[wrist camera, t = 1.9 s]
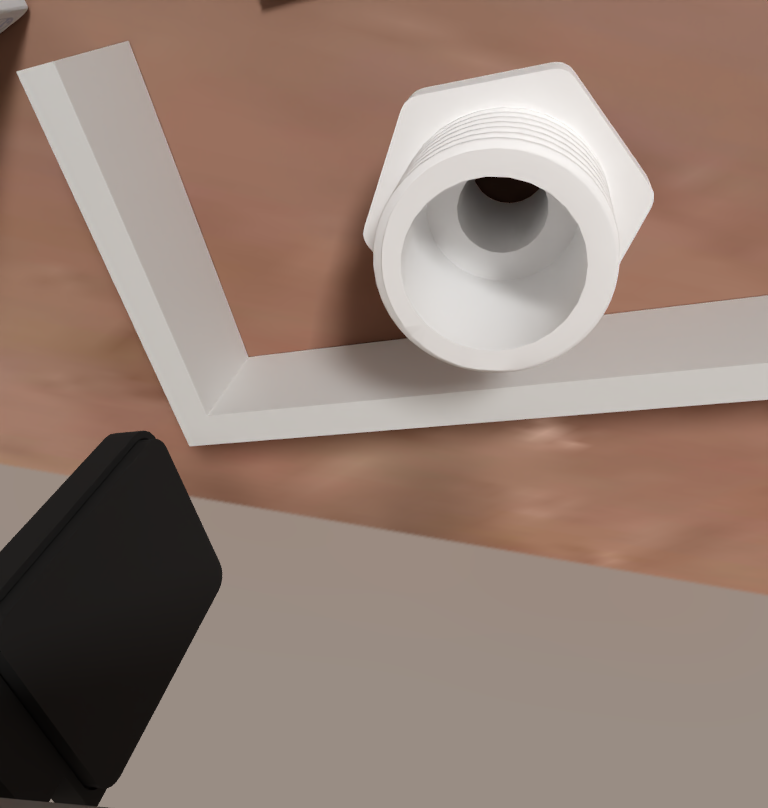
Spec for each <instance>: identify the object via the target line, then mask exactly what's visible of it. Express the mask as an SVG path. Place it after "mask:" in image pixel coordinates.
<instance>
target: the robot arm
mask: <svg viewBox="0 0 768 808" xmlns="http://www.w3.org/2000/svg"><path fill="white" fill-rule="evenodd" d="M221 581H222V568H221V565H220V562H219V560H218V558H217V556H216V554H215V552H214V549H213V547H212V545H211V543H210V541H209V539H208V536H207V534H206V532H205V530H204V528H203V526H202V523H201V521H200V519H199V517H198V515H197V513H196V511H195V508H194V506H193V504H192V502H191V500H190V497H189V495H188V493H187V491H186V489H185V487H184V485H183V482H182V480H181V478H180V476H179V474H178V472H177V469H176V467H175V465H174V463H173V461H172V459H171V456H170V454H169V452H168V450H167V448H166V446H165V445H164V443H163V442H162V441H161V440H158V439H156V438H155V437H154V436H153V435H152V434H151V433H150V432H147V431H136V432H125V433H115V434H110V435H109V436H107V437H106V438H105V439H104V440H103V441H102V442H101V443H100V444H99V445H98V446H97V448H96V449H95V450H94V451H93V452H92V453H91V454H90V455H89V456H88V457H87V458H86V459H85V461H84V462H83V463H82V464H81V465H80V466H79V467H78V468H77V469H76V470H75V471H74V472H73V474H72V475H71V476H70V477H69V478H68V479H67V480H66V481H65V482H64V483H63V484H62V485H61V487H60V488H59V489H58V490H57V491H56V492H55V493H54V494H53V495H52V496H51V497H50V498H49V500H48V501H47V502H46V503H45V504H44V505H43V506H42V507H41V508H40V509H39V510H38V512H37V513H36V514H35V515H34V516H33V517H32V518H31V519H30V520H29V521H28V523H27V524H25V525H24V527H23V528H22V529H21V530H20V531H19V532H18V533H17V534H16V535H15V537H13V538H12V540H11V541H10V542H9V543H8V544H7V545H6V546H5V547H4V548H3V550H2V551H1V552H0V808H106V807H97V806H98V804H99V802H100V800H101V798H102V797H103V795H104V793H105V791H106V789H107V788H109V787H111V786H112V785H113V784H115V782H117V780H118V779H119V777H120V776H121V774H122V772H123V770H124V768H125V766H126V764H127V762H128V760H129V758H130V757H131V755H132V753H133V751H134V749H135V747H136V745H137V743H138V742H139V740H140V738H141V736H142V734H143V732H144V730H145V728H146V726H147V725H148V723H149V721H150V719H151V717H152V715H153V713H154V711H155V709H156V708H157V706H158V704H159V702H160V700H161V698H162V696H163V694H164V692H165V691H166V689H167V687H168V685H169V683H170V681H171V679H172V677H173V675H174V674H175V672H176V670H177V668H178V666H179V664H180V662H181V660H182V658H183V657H184V655H185V653H186V651H187V649H188V647H189V645H190V643H191V642H192V639H193V638H194V636H195V634H196V632H197V630H198V628H199V626H200V624H201V623H202V621H203V619H204V617H205V615H206V613H207V611H208V609H209V607H210V606H211V604H212V602H213V600H214V598H215V596H216V594H217V592H218V591H219V588H220V586H221ZM50 799H52V800H53V801H54V803H52V802H49V801H50Z"/></svg>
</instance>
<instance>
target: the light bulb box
mask: <svg viewBox="0 0 768 808" xmlns="http://www.w3.org/2000/svg"><path fill="white" fill-rule="evenodd" d="M27 10H28V6H27V4H26V2H25V0H0V33H1V32H3V31H4V30H5V29H6V28H8V27H9V26H10V25H11V24H13V23H14V22H15V21H17V20H18V19H19V18H20V17H21V16H22V15H24V14H25V12H26V11H27Z"/></svg>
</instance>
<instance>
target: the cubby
mask: <svg viewBox="0 0 768 808" xmlns="http://www.w3.org/2000/svg"><path fill="white" fill-rule="evenodd" d="M17 74H18V77H19V79H20V81H21V83H22V85H23V87H24V90H25V92H26V94H27V96H28V98H29V100H30V103H31V105H32V107H33V109H34V111H35V113H36V115H37V118H38V120H39V122H40V124H41V126H42V128H43V131H44V133H45V135H46V137H47V139H48V141H49V144H50V146H51V148H52V150H53V152H54V154H55V157H56V159H57V161H58V163H59V165H60V167H61V170H62V172H63V174H64V176H65V178H66V180H67V183H68V185H69V187H70V189H71V191H72V193H73V195H74V198H75V200H76V202H77V204H78V206H79V208H80V211H81V213H82V215H83V217H84V219H85V221H86V224H87V226H88V228H89V230H90V232H91V234H92V237H93V239H94V241H95V243H96V245H97V247H98V250H99V252H100V254H101V256H102V258H103V260H104V263H105V265H106V267H107V269H108V271H109V273H110V275H111V278H112V280H113V282H114V284H115V286H116V288H117V291H118V293H119V295H120V297H121V299H122V301H123V304H124V306H125V308H126V310H127V312H128V314H129V317H130V319H131V321H132V323H133V325H134V327H135V330H136V332H137V334H138V336H139V338H140V340H141V343H142V345H143V347H144V349H145V351H146V353H147V355H148V358H149V360H150V362H151V364H152V366H153V368H154V371H155V373H156V375H157V377H158V379H159V381H160V384H161V386H162V388H163V390H164V392H165V394H166V397H167V399H168V401H169V403H170V405H171V407H172V410H173V412H174V414H175V416H176V418H177V420H178V423H179V425H180V427H181V429H182V431H183V433H184V435H185V438H186V440H187V442H188V444H189V446H200V445H213V444H225V443H237V442H250V441H262V440H274V439H287V438H299V437H311V436H324V435H336V434H349V433H361V432H373V431H386V430H398V429H410V428H423V427H435V426H447V425H460V424H472V423H484V422H497V421H509V420H521V419H534V418H546V417H559V416H571V415H583V414H596V413H608V412H620V411H633V410H645V409H657V408H670V407H682V406H694V405H707V404H719V403H731V402H744V401H756V400H768V295H767V296H758V297H750V298H742V299H733V300H725V301H716V302H708V303H700V304H691V305H683V306H674V307H666V308H658V309H649V310H641V311H632V312H624V313H616V314H607V315H603V316H602V318H601V319H600V320H599V322H598V323H597V325H596V326H595V327H594V328H593V329H592V331H591V332H590V333H589V334H588V335H587V336H586V337H585V338H584V339H583V340H582V341H580V342H579V343H578V344H577V345H576V346H574V347H573V348H572V349H570V350H569V351H567V352H566V353H564V354H563V355H561V356H559V357H557V358H555V359H553V360H551V361H549V362H547V363H544V364H542V365H539V366H536V367H532V368H528V369H524V370H520V371H513V372H500V373H491V372H480V371H472V370H468V369H464V368H460V367H456V366H453V365H450V364H448V363H445V362H443V361H441V360H439V359H437V358H435V357H433V356H431V355H429V354H428V353H426V352H425V351H423V350H422V349H420V348H419V347H418V346H416V345H415V344H414V343H413V342H411V341H410V340H409V339H408V338H406V339H397V340H389V341H380V342H372V343H364V344H355V345H347V346H338V347H330V348H322V349H313V350H305V351H296V352H288V353H280V354H271V355H263V356H254V357H248V355H247V352H246V350H245V347H244V344H243V342H242V339H241V336H240V334H239V331H238V328H237V326H236V323H235V321H234V318H233V315H232V313H231V310H230V307H229V305H228V302H227V299H226V297H225V294H224V292H223V289H222V286H221V284H220V281H219V278H218V276H217V273H216V270H215V268H214V265H213V263H212V260H211V257H210V255H209V252H208V249H207V247H206V244H205V241H204V239H203V236H202V234H201V231H200V228H199V226H198V223H197V220H196V218H195V215H194V212H193V210H192V207H191V204H190V202H189V199H188V197H187V194H186V191H185V189H184V186H183V183H182V181H181V178H180V175H179V173H178V170H177V168H176V165H175V162H174V160H173V157H172V154H171V152H170V149H169V146H168V144H167V141H166V139H165V136H164V133H163V131H162V128H161V125H160V123H159V120H158V117H157V115H156V112H155V109H154V107H153V104H152V102H151V99H150V96H149V94H148V91H147V88H146V86H145V83H144V80H143V78H142V75H141V73H140V70H139V67H138V65H137V62H136V59H135V57H134V54H133V51H132V49H131V46H130V44H129V41H126V42H122V43H118V44H115V45H111V46H108V47H104V48H100V49H97V50H93V51H89V52H86V53H82V54H78V55H75V56H71V57H67V58H64V59H60V60H57V61H53V62H49V63H46V64H42V65H38V66H35V67H31V68H28V69H24V70H20V71H17Z"/></svg>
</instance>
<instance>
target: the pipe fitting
mask: <svg viewBox="0 0 768 808" xmlns="http://www.w3.org/2000/svg"><path fill="white" fill-rule="evenodd" d="M482 177H510V178H513V179H517V180H521V181H525V182H529V183H532V184H533V185H535V186H537V187H539V188H540V189H539V190H538V191H536V192H535V193H534V194H533V195H532V196H531V197H529V198H527V199H525V200H523V201H519V202H514V203H503V202H498V201H496V200H493V199H491V198H489V197H488V196H487V195H485V194H484V193H483V192H482V191H481V190H480V188H479V187H478V186H477V184H476V182H475V179H477V178H482ZM653 201H654V193H653V190H652V187H651V185H650V182H649V180H648V177H647V175H646V174H645V172H644V171H643V169H642V168H641V166H640V165H639V163H638V162H637V161H636V159H635V158H634V156H633V155H632V153H631V152H630V151H629V149H628V148H627V146H626V145H625V143H624V142H623V140H622V139H621V138H620V136H619V135H618V133H617V132H616V130H615V129H614V128H613V126H612V125H611V123H610V122H609V120H608V119H607V117H606V116H605V115H604V113H603V112H602V110H601V109H600V107H599V106H598V105H597V103H596V102H595V100H594V99H593V97H592V96H591V94H590V93H589V92H588V90H587V89H586V87H585V86H584V84H583V83H582V82H581V80H580V79H579V77H578V76H577V74H576V73H575V71H574V70H573V69H572V68H571V67H570V66H569V65H567V64H564V63H562V62H552V63H547V64H542V65H537V66H532V67H527V68H522V69H517V70H511V71H506V72H501V73H496V74H491V75H486V76H481V77H476V78H471V79H466V80H461V81H456V82H451V83H446V84H441V85H436V86H431V87H426V88H422V89H419V90H417V91H415V92H414V93H413V94H412V95H411V96H410V97H409V99H408V100H407V101H406V102H405V103H404V105H403V107H402V109H401V111H400V115H399V118H398V121H397V124H396V127H395V131H394V134H393V137H392V140H391V143H390V147H389V150H388V153H387V156H386V159H385V163H384V166H383V169H382V172H381V175H380V179H379V182H378V185H377V188H376V191H375V195H374V198H373V201H372V204H371V207H370V210H369V214H368V217H367V220H366V223H365V226H364V232H363V236H364V240H365V242H366V244H367V245H368V247H369V248H370V249H371V250H372V252H373V267H374V273H375V279H376V284H377V288H378V291H379V294H380V297H381V299H382V302H383V304H384V306H385V308H386V310H387V311H388V313H389V315H390V317H391V318H392V319H393V321H394V322H395V324H396V325H397V326H398V328H399V329H400V330H401V331H402V332H403V334H404V335H405V336H406V337H407V338H408V339H409V340H410V341H411V342H413V343H414V344H415V345H416V346H418V347H419V348H420V349H422V350H423V351H425V352H426V353H428V354H429V355H431V356H433V357H435V358H437V359H439V360H441V361H443V362H445V363H448V364H450V365H453V366H456V367H460V368H464V369H468V370H472V371H480V372H491V373H500V372H513V371H520V370H524V369H528V368H532V367H536V366H539V365H542V364H544V363H547V362H549V361H551V360H553V359H555V358H557V357H559V356H561V355H563V354H564V353H566V352H567V351H569V350H570V349H572V348H573V347H574V346H576V345H577V344H578V343H579V342H580V341H582V340H583V339H584V338H585V337H586V336H587V335H588V334H589V333H590V332H591V331H592V329H593V328H594V327H595V326H596V325H597V323H598V322H599V320H600V319H601V318H602V316H603V314H604V313H605V311H606V309H607V307H608V305H609V303H610V301H611V298H612V296H613V293H614V290H615V287H616V282H617V278H618V271H619V264H620V262H621V260H622V258H623V257H624V255H625V253H626V251H627V250H628V248H629V246H630V244H631V242H632V241H633V239H634V237H635V235H636V234H637V232H638V230H639V228H640V227H641V225H642V223H643V221H644V219H645V218H646V216H647V214H648V212H649V211H650V209H651V207H652V204H653Z"/></svg>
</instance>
